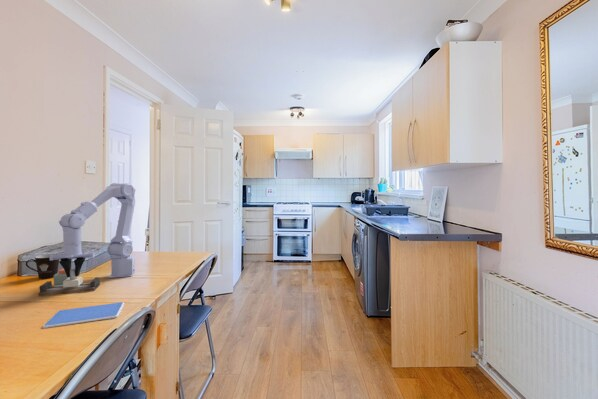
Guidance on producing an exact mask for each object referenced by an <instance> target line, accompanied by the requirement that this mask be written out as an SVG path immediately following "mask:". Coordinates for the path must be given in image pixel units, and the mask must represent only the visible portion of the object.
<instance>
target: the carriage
mask: <svg viewBox="0 0 598 399" xmlns="http://www.w3.org/2000/svg"><path fill="white" fill-rule="evenodd" d="M82 283H84V277H83V276H77V277H75V267H74V268H72V269H70V278H67V279H66V280H64V281H63V288H65V287H76V286H79V285H81V284H82Z"/></svg>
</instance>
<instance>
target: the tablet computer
mask: <svg viewBox="0 0 598 399" xmlns="http://www.w3.org/2000/svg"><path fill="white" fill-rule="evenodd" d="M124 306H125V302H122V301H120V302H114V303H105V304H98V305H90V306H85V307H84V306H83V307H76V308H74V307H73V308H68V309H60V310H58V311H56V313H54V314H53V316H51V318H50V319H48V321H46V322H45V323H44V324H43V325H42V329H49V328H50V329H52V328H55V327H63V326H70V325H76V324H77V325H78V324H83V323H89V322H97V321H104V320H111V319H117V318H118V317H119V315H120V313H121V312H122V311H123V308H124Z"/></svg>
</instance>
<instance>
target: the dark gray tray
mask: <svg viewBox="0 0 598 399" xmlns="http://www.w3.org/2000/svg"><path fill="white" fill-rule="evenodd" d="M100 285H101V281H100V277H98V276H97V277H96V276H95V277H94V278H93V279H92V280H91V281H90V282H83V283H82V284H81V285H79V286H76V287H65V288H63V285H57V286H54V285H53V282H52V281H46V282H44V283H42V284H41V285H39V292H38V293H37V294H38V297H44V296H54V295H65V294H76V293H87V292H95V291H96V290H97V288H98V287H100Z"/></svg>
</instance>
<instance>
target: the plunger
mask: <svg viewBox="0 0 598 399" xmlns="http://www.w3.org/2000/svg"><path fill="white" fill-rule="evenodd" d="M71 269H73V268H72V267H71ZM58 272H59V274H66V272H65V270H64V268H61V269H58Z"/></svg>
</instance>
